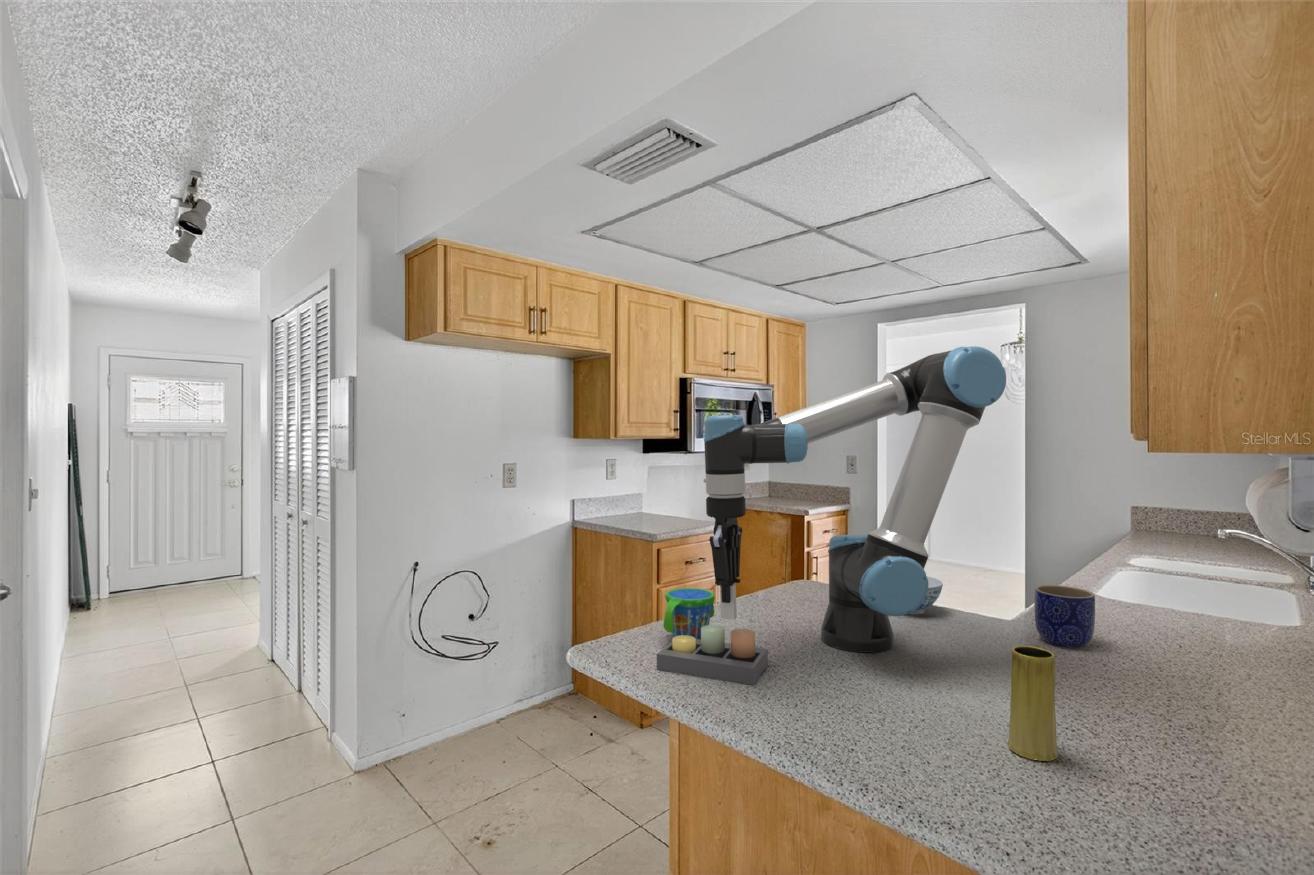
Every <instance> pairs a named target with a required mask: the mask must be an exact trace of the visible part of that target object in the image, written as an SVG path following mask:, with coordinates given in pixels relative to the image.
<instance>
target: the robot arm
mask: <svg viewBox="0 0 1314 875" xmlns="http://www.w3.org/2000/svg"><path fill="white" fill-rule="evenodd" d="M1006 385H1007V373H1006V370H1005V367H1004V366H1003V364H1002V361H1001V359H1000V358H999V357H998V356H997V355H996V354H995V353H994V352H992V351H991V350H990V349H987V348H985V347H981V346H978V345H977V346H976V345H975V346H973V345H972V346H959V347H956V348H954V349H952V350H948V351H943V352H939V353H933V354H930V355H927V356H925V357H923V358H920V359H917V360H916V361H915V362H912V363H911V364H908V365H906V366H904V367H901V368H899V369H897V370H894V371H891V372H888V373H886V374H884V376H883V377H882V380H880V381H877V382H875V383H871V384H869V385H865V386H863V387H860V388H857V389H853V390H852V391H849V392H846V393H843V394H840V395H837V396H835V397H831V398H829V399H825V400H823V401H820V402H817V403H814V404H812V405H809V406H805V407H803V408H801V409H797V410H794V411H792V412H789V413H787V414H783V415H780V416H778V417H776V418H773V419H769V420H767V421H763V422H760V423H754V424H745V422H744V417H743V415H740V414H731V415H730V414H728V415H727V414H726V415H723V414H722V415H721V414H719V415H711V416H708V417H706V419H705V421H704V438H703V441H704V464H705V465H704V466H705V467H704V468H705V477H704V478H703V483H704V484H705V492H706V494H707V495H708V496H707V497H706V499H705V508H706V509H705V510H706V516H708V517H709V518H713V519H714V526H713V536H712V535H710V536H709V544H710V547H711V554H712V564H713V572H714V584H715V585H716V586H719V596H720V598H719V599H720V600H719V602H720V605H719V606H720V619H724V620H733V621H735V620H736V619H737V617H738V615H737V586H736V585H737V584H740V583H741V579H740V578H739V577H740V571H741V570H740V567H741V565H740V564H741V547H742V546H741V544H742V535H743V534H742V533H743V527H742V526H739V525H738V522H739V521H738V518H743V517H744V516H746V512H747V510H746V509H747V508H746V506H747V505H746V497H745V496H744V494H745V493H746V474H745V471H746V470H745V467H746V466H745V465H746V464H748V465H750V464H788V465H789V464H791V463H800V462H803V461H804V460H805V458H806V456H807V454H808V453H807V452H808V449H809V448H808V445H809V444H811V443H813V442H814V443H815V442H818V441H820V440H823V439H825V438H828V437H830V436H833V435H837V434H840V433H843V432H845V431H848V430H851V429H853V428H856V427H859V426H862V425H865V424H867V423H870V422H873V421H877V420H879V419H882V418H886V417H888V416H890V415H893V414H895V415H897V416H900V417H902V416H905V415H907V414H910V413H915V412H920V413H921V418H920V421H919V423H918V426H917V427H916V431H915V433H914V436H913V438H912V441H911V444H910V446H909V450H908V452H907V454H906V458H905V460H904V463H903V465H902V468H901V470H900V473H899V476H898V478H897V481H896V484H895V486H894V488H893V491H892V495H891V497H890V499H889V501H888V505H887V507H886V510H885V512H884V515H883V517H882V520H881V522H880V526H879V527H878V528H876V529H874V530H872V531H870V532H868V534H842V535H841V534H838V535H837V534H836V535H833V536H832V537H830V539H829V544H828V552H827V553H828V605H827V608H826V612H825V614H824V617H823V620H822V623H821V626H820V639H821V641H822V642H823V643H825V644H827V645H829V646H831V647H833V648H835V649H836V648H838V649H840V650H844V651H850V652H858V653H876V652H877V653H878V652H884V651H888V650H890V649H891V648H893V647H894V645H895V638H894V637H895V636H894V635H895V634H894V630H893V627H892V624H891V621H890V619H889V617H901V616H905V615H909V614H908V613H910V612H912V611H914V610H915V609H917V608H918V607H919V606H920V605H921V604H922V602H923V601H924V599H925V597H926V595H927V592H928V579H927V577H926V576H927V572H926V570H925V567H926V564H927V562H928V560H929V553H928V551H927V549H926V547H925V543H926V539H927V537H928V534H929V532H930V529H931V527H932V523H933V521H934V519H935V516H936V513H937V511H938V508H939V505H940V503H941V500H942V498H943V495H944V492H945V489H946V487H947V484H948V481H949V480H950V476H951V473H952V471H953V468H954V467H955V463H956V461H957V458H958V456H959V453H960V449H961V447H962V444H963V442H964V439H965V437H966V434H967V431H968V430H969V429H971V428H973V427H976V426H978V425H980V422H981V419H982V417H983V414H984V411H985V410H986V407H989V406H991V405H993V404H994V403H996V402H998V401H999V399H1000V398H1001V397H1002V396H1003V394H1004V391H1005V389H1006Z"/></svg>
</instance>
